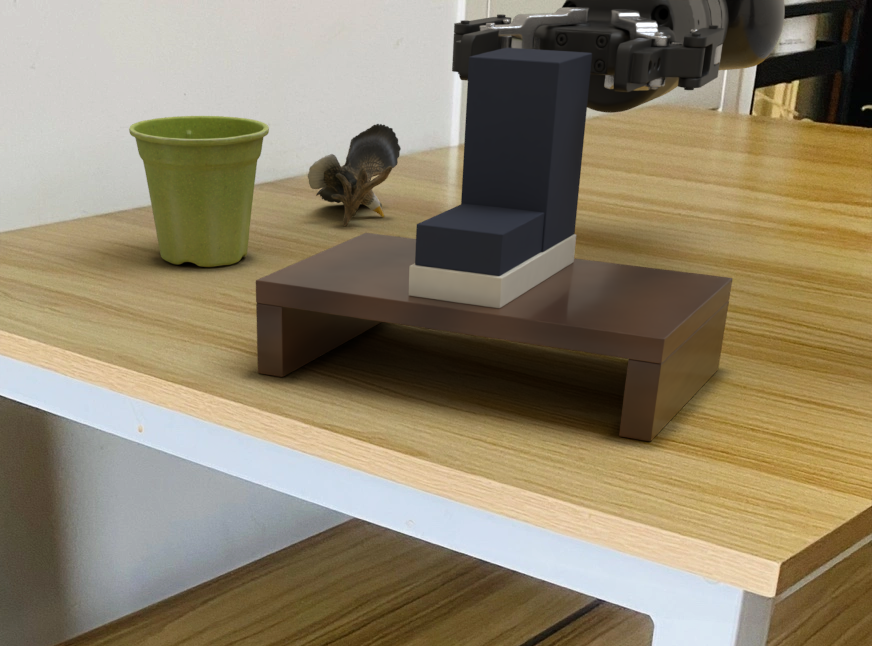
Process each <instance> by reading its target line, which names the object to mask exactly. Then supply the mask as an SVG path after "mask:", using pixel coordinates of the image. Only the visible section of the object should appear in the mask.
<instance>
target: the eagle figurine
mask: <svg viewBox="0 0 872 646" xmlns="http://www.w3.org/2000/svg"><path fill="white" fill-rule="evenodd" d="M401 150H402V148H401V146H400V144H399V138H398V137H397V134H396V132H395V131H394V130H393V128H392V127H389V126H388V125H385V124H382V123H376V124H373V125H372V126H370V127H369V128H366V129H365V130H363V131H361V132H360V133H358V135H355V136H354V137H352V138H351V139H350V144H349V147H348V151H347V155H346V158H345V163H344V165H342V166H341V164H340V162H339V160H338V158H337V156H336V154H333V153H331V154H327V155H325V156H322V157H321V158H319V159H317V160H316V161H314V162H313V163H312V165H311V166H309V169H308V173H307V179H308V185H309V187H310V188H311V189H312V190H318V191H317V192H316V194H315V196H316V197H317V196H319V197H321V200H323V201H326V202H329V203H337V204H340V203H342V204H343V206H344V214H343V219H342V224H343V226H344V227H347V226H348V224H349V222H350V221H351V220H352V218H353V217H355V216H356V211H359V207H360V206H361V205H364V206H366V207H367V208H368V209H370V211H372V212H374V213H377V214H378V215H379V216H381V218H385V214H384V211H383V204H382V203H381V201H380V200H379V198H378V196H377V195H376V194H375V192H374V191H373V189H374V188H375V187H377V186H379V185H381V184H382V183H384V182H385V181H386V180H387V179H388V178H389V175H390V174H391V172H392V170H393V169H394V168H396V166H398V162H399V161H398V159H399V157H400V152H401Z"/></svg>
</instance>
